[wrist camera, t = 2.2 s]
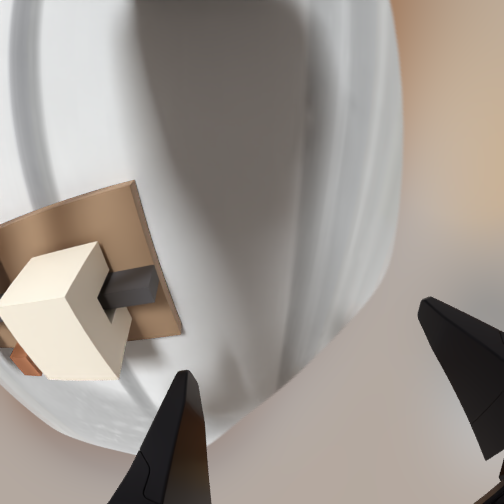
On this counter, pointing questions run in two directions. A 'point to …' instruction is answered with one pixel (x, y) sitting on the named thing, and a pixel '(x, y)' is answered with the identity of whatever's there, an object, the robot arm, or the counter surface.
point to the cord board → (114, 251)
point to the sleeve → (67, 315)
